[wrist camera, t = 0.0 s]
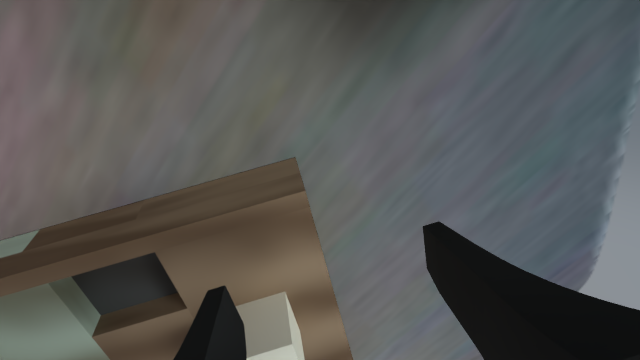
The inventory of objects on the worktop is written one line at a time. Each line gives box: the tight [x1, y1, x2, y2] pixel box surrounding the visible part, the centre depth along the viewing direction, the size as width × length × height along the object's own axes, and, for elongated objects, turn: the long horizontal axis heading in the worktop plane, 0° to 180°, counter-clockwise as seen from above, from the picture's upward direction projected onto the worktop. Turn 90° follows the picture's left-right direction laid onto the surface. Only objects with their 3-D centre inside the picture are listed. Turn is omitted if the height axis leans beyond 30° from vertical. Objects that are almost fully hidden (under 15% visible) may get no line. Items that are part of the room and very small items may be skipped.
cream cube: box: [235, 292, 305, 360], centre depth 23 cm, size 4×4×4 cm
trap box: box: [0, 158, 353, 360], centre depth 25 cm, size 20×22×4 cm
